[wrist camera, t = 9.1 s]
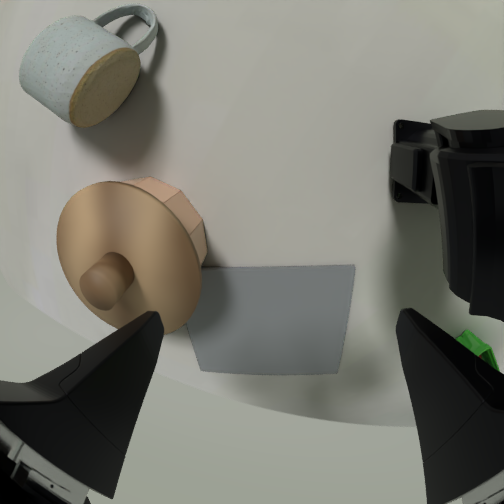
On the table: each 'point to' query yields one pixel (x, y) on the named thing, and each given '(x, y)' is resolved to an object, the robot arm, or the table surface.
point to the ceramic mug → (85, 65)
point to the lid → (128, 255)
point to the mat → (272, 319)
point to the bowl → (177, 210)
